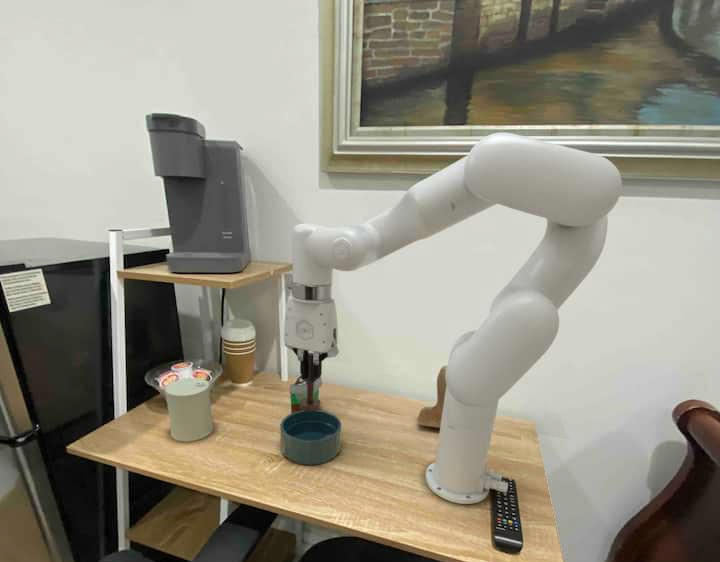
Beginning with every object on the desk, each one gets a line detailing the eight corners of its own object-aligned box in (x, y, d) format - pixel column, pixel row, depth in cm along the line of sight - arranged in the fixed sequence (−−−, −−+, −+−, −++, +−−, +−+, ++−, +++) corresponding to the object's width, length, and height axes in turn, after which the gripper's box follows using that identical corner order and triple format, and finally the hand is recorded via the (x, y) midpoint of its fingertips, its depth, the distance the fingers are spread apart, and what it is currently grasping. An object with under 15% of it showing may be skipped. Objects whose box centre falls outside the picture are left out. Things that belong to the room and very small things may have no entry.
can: (213, 438, 89) (209, 391, 84) (169, 444, 85) (162, 395, 81) (213, 418, 97) (209, 374, 92) (172, 423, 94) (166, 377, 89)
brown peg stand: (323, 404, 85) (325, 352, 80) (314, 413, 81) (315, 359, 77) (306, 400, 86) (306, 348, 82) (295, 408, 82) (296, 355, 78)
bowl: (349, 440, 91) (350, 417, 89) (324, 472, 79) (324, 447, 77) (299, 426, 95) (299, 404, 93) (269, 456, 84) (268, 431, 81)
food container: (313, 425, 96) (313, 388, 92) (289, 421, 97) (289, 385, 93) (327, 402, 107) (328, 369, 104) (305, 399, 108) (306, 366, 105)
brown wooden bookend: (473, 414, 105) (482, 363, 100) (479, 438, 94) (490, 382, 89) (417, 408, 107) (423, 357, 102) (416, 430, 96) (423, 375, 91)
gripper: (266, 289, 74) (268, 377, 80) (341, 301, 69) (337, 394, 75) (287, 283, 81) (287, 365, 87) (357, 293, 76) (352, 379, 82)
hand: (310, 378), depth 81 cm, fingers closed on brown peg stand, 1 cm apart
